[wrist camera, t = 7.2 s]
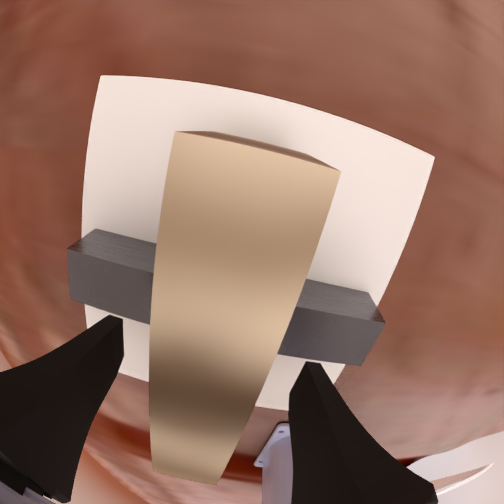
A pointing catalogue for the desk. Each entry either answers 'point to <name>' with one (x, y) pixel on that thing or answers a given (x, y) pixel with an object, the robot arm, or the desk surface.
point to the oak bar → (225, 288)
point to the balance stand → (264, 130)
